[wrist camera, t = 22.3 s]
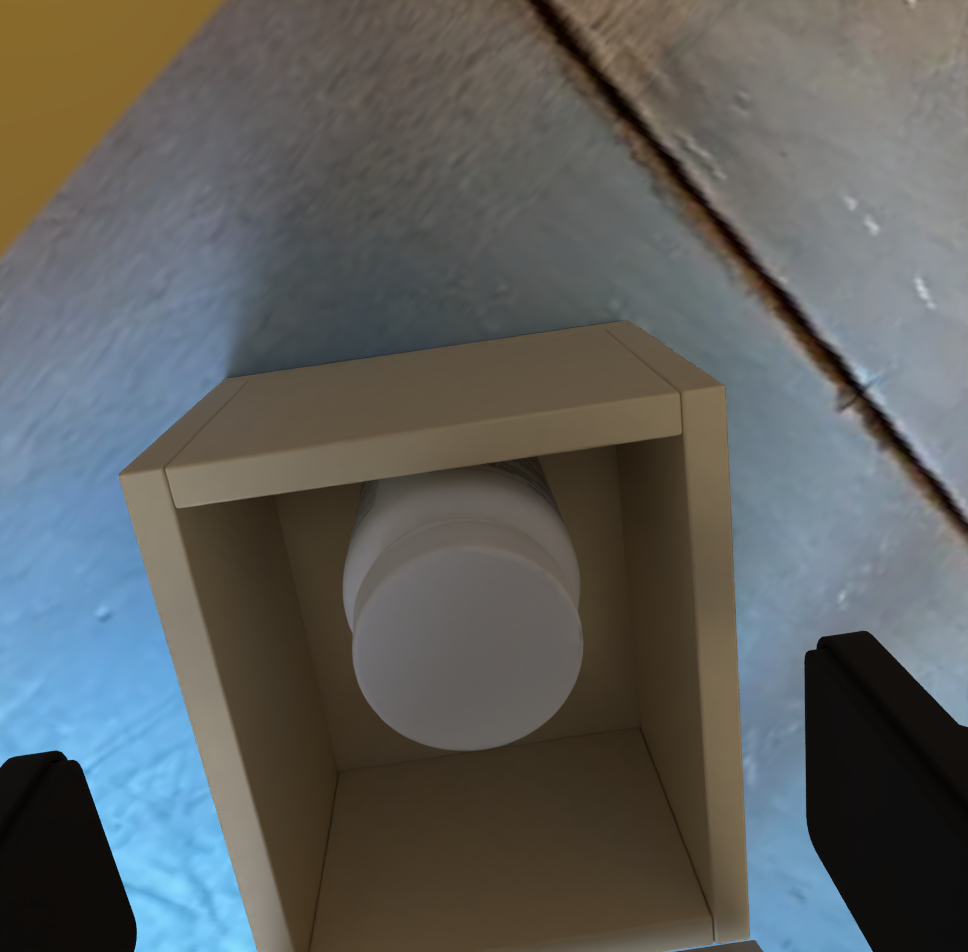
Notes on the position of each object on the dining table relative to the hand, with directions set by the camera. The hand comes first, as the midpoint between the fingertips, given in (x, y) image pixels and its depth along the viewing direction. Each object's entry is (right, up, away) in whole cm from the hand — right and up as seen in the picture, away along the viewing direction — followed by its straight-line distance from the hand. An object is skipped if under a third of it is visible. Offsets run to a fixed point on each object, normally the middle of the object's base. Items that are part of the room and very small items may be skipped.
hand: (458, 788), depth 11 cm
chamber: (0, +1, +13) cm, 13 cm away
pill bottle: (-1, +4, +12) cm, 12 cm away
